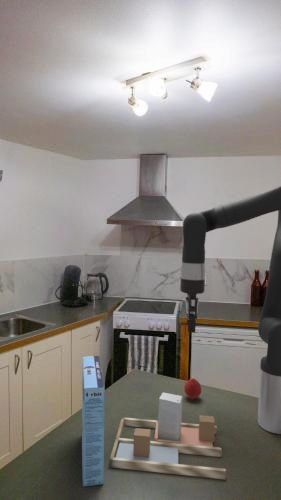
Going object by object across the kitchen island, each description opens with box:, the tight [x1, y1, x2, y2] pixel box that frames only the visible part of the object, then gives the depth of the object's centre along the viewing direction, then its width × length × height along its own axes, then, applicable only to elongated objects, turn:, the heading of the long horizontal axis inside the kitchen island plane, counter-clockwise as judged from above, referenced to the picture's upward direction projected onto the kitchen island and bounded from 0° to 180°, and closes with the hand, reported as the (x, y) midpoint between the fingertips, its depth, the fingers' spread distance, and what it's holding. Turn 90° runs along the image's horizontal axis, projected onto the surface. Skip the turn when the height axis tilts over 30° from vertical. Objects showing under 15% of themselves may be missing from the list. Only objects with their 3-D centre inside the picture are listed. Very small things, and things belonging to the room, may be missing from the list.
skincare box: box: [157, 392, 183, 441], centre depth 92 cm, size 6×4×12 cm
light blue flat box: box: [81, 355, 106, 487], centre depth 83 cm, size 20×5×23 cm, turn 10°
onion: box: [183, 376, 202, 400], centre depth 114 cm, size 6×6×8 cm
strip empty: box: [115, 427, 179, 464], centre depth 84 cm, size 16×7×7 cm, turn 84°
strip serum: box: [154, 414, 216, 447], centre depth 91 cm, size 16×8×7 cm, turn 84°
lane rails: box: [109, 416, 227, 480], centre depth 88 cm, size 28×18×2 cm, turn 84°
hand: (190, 328), depth 103 cm, fingers open, 8 cm apart
